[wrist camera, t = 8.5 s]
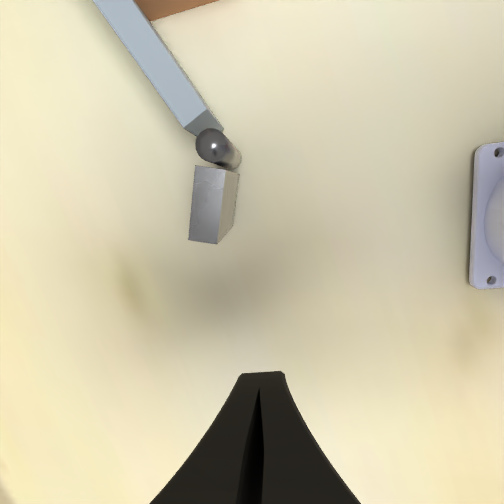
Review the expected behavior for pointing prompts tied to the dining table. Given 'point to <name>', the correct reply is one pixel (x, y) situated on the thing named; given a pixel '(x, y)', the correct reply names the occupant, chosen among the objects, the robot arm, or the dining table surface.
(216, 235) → the door frame
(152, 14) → the notched block
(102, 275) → the dining table surface
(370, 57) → the dining table surface
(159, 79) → the door
